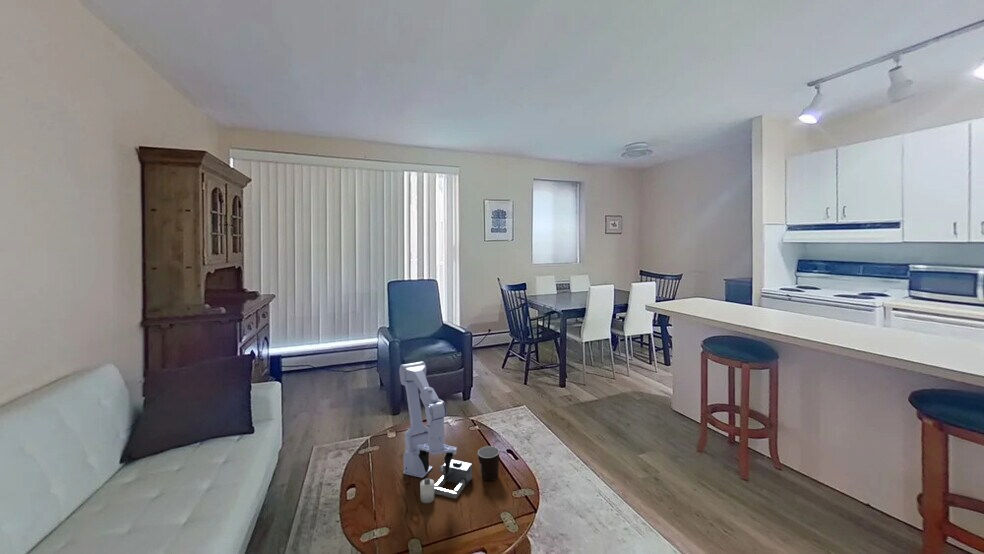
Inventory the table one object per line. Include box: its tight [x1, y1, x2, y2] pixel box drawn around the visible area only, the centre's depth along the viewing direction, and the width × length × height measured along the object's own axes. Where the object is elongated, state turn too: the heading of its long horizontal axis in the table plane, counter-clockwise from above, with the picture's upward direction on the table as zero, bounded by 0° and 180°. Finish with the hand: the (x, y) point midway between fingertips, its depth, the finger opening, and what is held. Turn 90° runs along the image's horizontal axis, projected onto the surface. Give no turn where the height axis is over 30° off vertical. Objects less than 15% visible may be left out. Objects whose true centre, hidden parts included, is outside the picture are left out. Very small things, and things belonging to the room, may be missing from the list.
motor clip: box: [434, 459, 473, 500], centre depth 149 cm, size 12×14×7 cm
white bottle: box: [419, 477, 435, 504], centre depth 141 cm, size 5×5×7 cm
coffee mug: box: [477, 445, 500, 482], centre depth 156 cm, size 12×9×10 cm
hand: (437, 471), depth 142 cm, fingers open, 7 cm apart
